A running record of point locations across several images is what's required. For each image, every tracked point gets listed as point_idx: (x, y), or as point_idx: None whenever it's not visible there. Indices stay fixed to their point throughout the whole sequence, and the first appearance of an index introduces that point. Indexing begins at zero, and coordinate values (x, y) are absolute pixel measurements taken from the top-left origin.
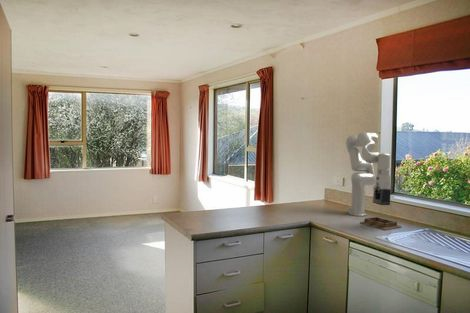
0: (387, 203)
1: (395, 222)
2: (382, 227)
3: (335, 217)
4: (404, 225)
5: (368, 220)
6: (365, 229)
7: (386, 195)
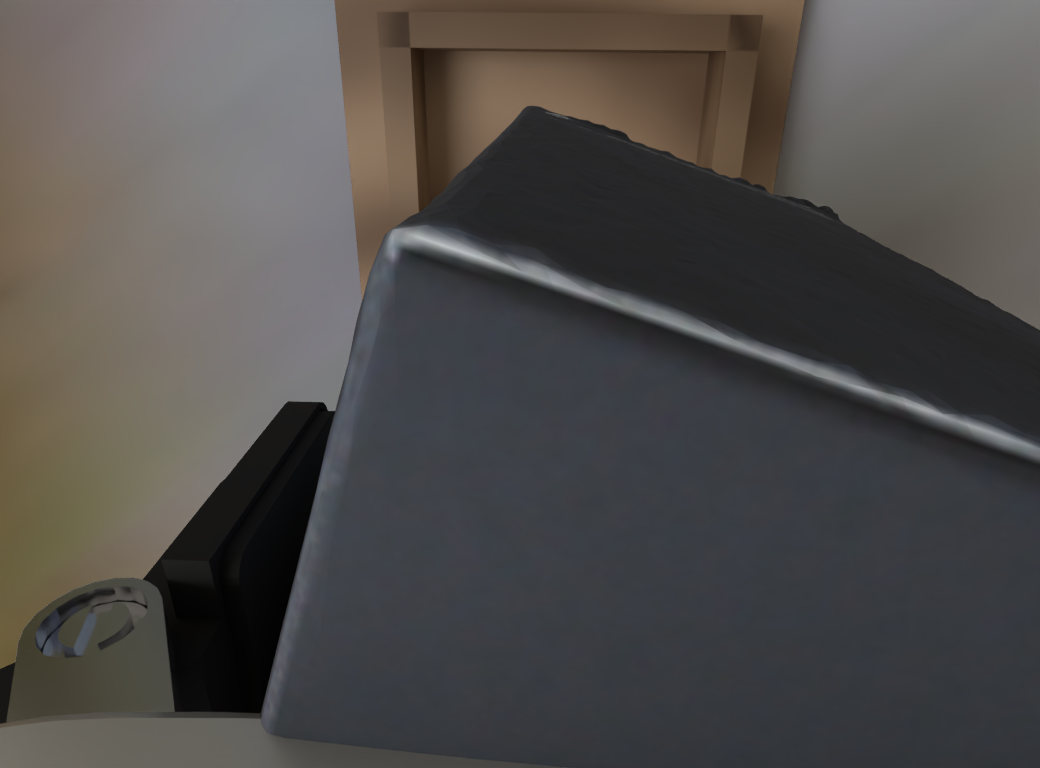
0: (633, 143)
1: (424, 13)
2: (761, 52)
3: None
4: (144, 54)
5: None
6: (1029, 171)
7: (797, 235)
